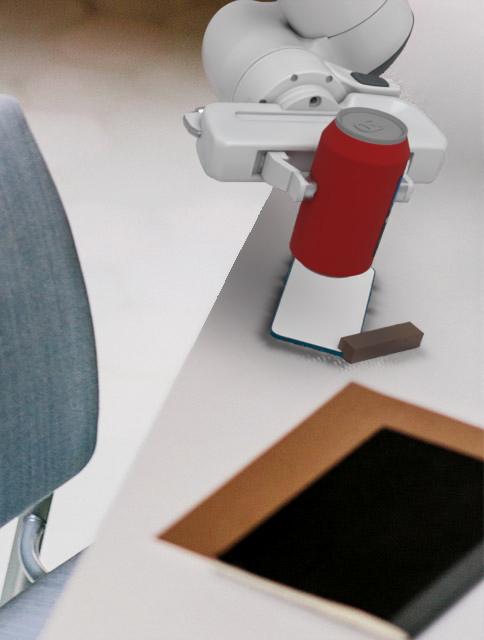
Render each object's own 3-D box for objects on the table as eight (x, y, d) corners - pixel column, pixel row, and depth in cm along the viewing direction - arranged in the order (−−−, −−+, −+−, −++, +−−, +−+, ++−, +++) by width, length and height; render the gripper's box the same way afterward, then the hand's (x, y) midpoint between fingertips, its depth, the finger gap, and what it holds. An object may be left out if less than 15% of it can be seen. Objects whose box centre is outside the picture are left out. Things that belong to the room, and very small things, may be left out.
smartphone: (353, 365, 104) (374, 275, 116) (356, 356, 104) (377, 267, 115) (265, 340, 106) (294, 254, 117) (267, 332, 105) (296, 246, 117)
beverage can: (386, 272, 95) (436, 134, 88) (329, 293, 92) (376, 151, 84) (326, 232, 99) (368, 96, 91) (268, 251, 96) (308, 111, 88)
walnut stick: (404, 334, 108) (409, 320, 107) (419, 346, 107) (424, 333, 106) (335, 351, 105) (340, 337, 104) (349, 364, 103) (354, 350, 102)
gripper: (183, 73, 97) (237, 154, 86) (412, 80, 101) (488, 158, 91) (169, 145, 101) (218, 230, 90) (389, 148, 105) (460, 230, 95)
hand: (356, 194), depth 91 cm, fingers closed on beverage can, 6 cm apart
